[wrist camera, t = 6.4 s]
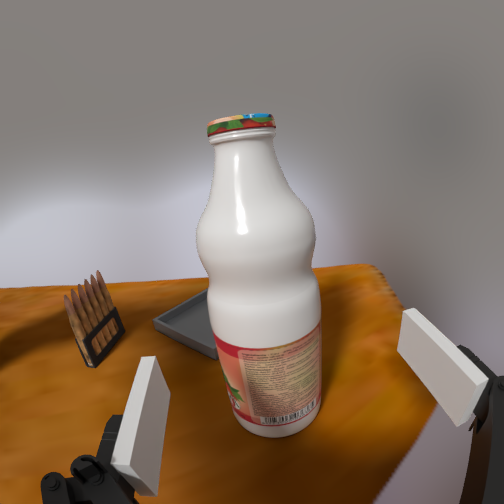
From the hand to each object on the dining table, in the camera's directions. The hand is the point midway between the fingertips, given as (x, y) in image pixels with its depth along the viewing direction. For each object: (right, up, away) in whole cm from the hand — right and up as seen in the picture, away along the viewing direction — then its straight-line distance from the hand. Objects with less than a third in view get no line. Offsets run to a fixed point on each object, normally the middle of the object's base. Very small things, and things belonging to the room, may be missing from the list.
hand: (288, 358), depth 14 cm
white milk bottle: (+1, -12, +15) cm, 19 cm away
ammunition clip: (-25, -11, +28) cm, 40 cm away
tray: (-8, -6, +34) cm, 35 cm away
